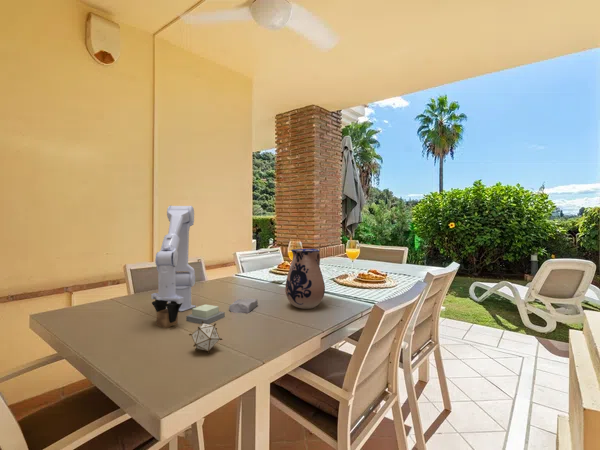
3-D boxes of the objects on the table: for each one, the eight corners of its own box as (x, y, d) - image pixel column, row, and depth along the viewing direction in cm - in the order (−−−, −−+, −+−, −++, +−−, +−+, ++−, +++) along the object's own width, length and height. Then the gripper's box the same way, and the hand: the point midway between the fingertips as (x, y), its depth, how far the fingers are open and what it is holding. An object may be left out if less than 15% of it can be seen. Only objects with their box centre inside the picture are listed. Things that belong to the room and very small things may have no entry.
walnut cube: (156, 325, 108) (156, 311, 108) (168, 321, 113) (168, 308, 112) (166, 327, 106) (166, 313, 106) (177, 323, 110) (177, 310, 110)
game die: (201, 361, 89) (195, 328, 94) (228, 350, 90) (221, 318, 94) (187, 358, 81) (182, 323, 86) (217, 346, 82) (210, 311, 87)
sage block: (191, 315, 114) (191, 308, 114) (205, 310, 120) (205, 304, 120) (206, 318, 111) (206, 311, 111) (218, 312, 117) (218, 306, 117)
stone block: (227, 316, 124) (250, 313, 122) (225, 305, 124) (248, 301, 123) (239, 309, 136) (259, 306, 134) (237, 298, 136) (257, 295, 134)
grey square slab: (186, 322, 113) (186, 316, 113) (205, 315, 122) (205, 309, 122) (206, 326, 109) (206, 320, 109) (224, 318, 118) (224, 312, 118)
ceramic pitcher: (278, 309, 128) (278, 250, 127) (297, 297, 147) (297, 246, 147) (317, 314, 121) (317, 252, 121) (332, 301, 141) (332, 247, 140)
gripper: (143, 283, 109) (144, 321, 109) (172, 287, 102) (172, 327, 102) (160, 280, 115) (160, 315, 115) (188, 283, 108) (188, 321, 109)
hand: (167, 320), depth 109 cm, fingers closed on walnut cube, 5 cm apart
